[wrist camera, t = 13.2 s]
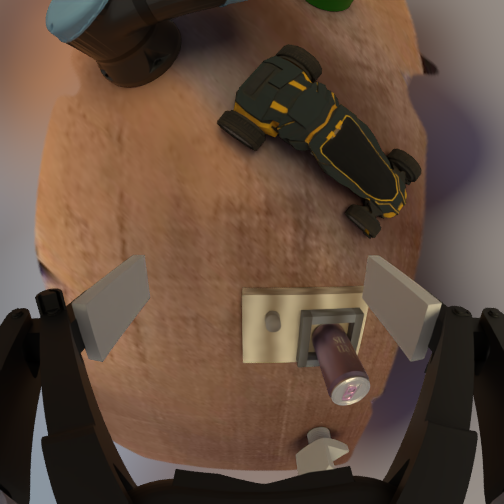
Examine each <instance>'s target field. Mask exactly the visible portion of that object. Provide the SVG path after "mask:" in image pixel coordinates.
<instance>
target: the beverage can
mask: <svg viewBox="0 0 504 504" xmlns="http://www.w3.org/2000/svg"><path fill="white" fill-rule="evenodd" d="M312 343H313V346H314V349H315V352H316V355H317V358H318V362H319V365H320V368H321V371H322V374H323V377H324V381H325V384H326V387H327V390H328V394H329V396H330V397H331V399H332V401H333V402H334V403H336V404H338V405H350V404H353V403H356V402H358V401H359V400H361V399H362V398H363V397H364V396H365V395H366V394H367V393H368V391H369V389H370V382H369V377H368V375H367V373H366V371H365V369H364V367H363V365H362V363H361V362H360V360H359V358H358V356H357V354H356V352H355V350H354V348H353V346H352V344H351V342H350V340H349V339H348V337H347V335H346V333H345V331H344V329H343V327H342V326H341V325H339V324H322V325H320V326H319V327H318V328H317V329H316V330H315V331H314V333H313V335H312Z"/></svg>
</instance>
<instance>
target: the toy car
mask: <svg viewBox="0 0 504 504" xmlns="http://www.w3.org/2000/svg"><path fill="white" fill-rule="evenodd" d="M321 74H322V68H321V66H320V64H319V62H318V61H317V60H316V58H315V57H314V56H313V55H311V54H310V53H309V52H307V51H306V50H305V49H303V48H300V47H298V46H294V45H289V44H288V45H286V46H284V47H283V48H282V49H281V50H280V51H279V52H278V53H277V54H276V56H274V57H272V58H269V59H267V60H265V61H263V62H262V64H261V65H260V66H259V67H258V68H257V69H256V70H255V71H254V72H253V73H252V74H251V75H250V77H249V78H248V79H247V80H246V81H245V82H244V83H243V84H242V86H241V87H239V90H238V91H237V92H236V99H235V106H234V110H231V111H225V112H224V114H223V115H222V116H221V117H220V119H219V120H218V121H217V124H218V125H219V126H220V127H221V128H222V129H223V130H225V131H226V132H227V133H229V134H230V135H231V136H233V137H234V138H236V139H237V140H239V141H240V142H241V143H243V144H244V145H246V146H247V147H249V148H250V149H252V150H254V151H257V150H258V148H259V147H260V146H261V145H262V143H263V142H264V141H265V137H264V136H265V134H268V135H271V136H273V137H276V136H277V134H278V136H279V137H280V138H282V139H283V140H284V141H285V142H287V143H288V144H289V145H292V146H293V147H294V148H295V149H296V150H302V151H305V150H311V154H312V155H314V157H315V158H316V160H317V162H318V164H319V166H320V167H321V168H322V170H323V171H324V172H325V173H326V174H327V175H329V176H330V177H332V178H333V179H335V180H336V181H338V182H339V183H340V184H342V185H344V186H346V187H348V188H350V190H351V191H352V192H353V193H355V194H357V195H358V196H360V197H362V198H366V200H365V202H364V203H365V207H364V206H359V205H354V204H353V205H351V206H350V208H349V209H348V210H347V212H346V214H345V215H346V216H347V217H348V218H349V219H350V220H351V221H352V222H353V223H355V224H356V225H357V226H358V227H359V228H360V229H361V230H362V231H364V234H365V235H366V236H367V237H368V238H370V239H371V237H372V238H375V237H376V235H377V234H378V233H379V231H380V230H381V226H380V223H379V222H378V220H377V219H376V216H379V217H381V218H383V219H384V217H388V218H391V217H393V216H396V215H398V213H399V211H400V209H401V208H402V207H403V206H404V205H405V204H406V196H407V195H406V190H405V188H406V185H405V184H408V185H409V184H410V183H411V182H415V181H416V180H417V179H418V177H419V176H420V174H421V168H420V166H419V164H418V163H417V161H416V160H415V159H414V158H413V157H412V156H410V155H409V154H407V153H406V152H404V151H402V150H399V149H393V150H392V151H391V153H390V154H389V155H388V157H386V156H385V154H384V153H383V152H382V150H381V148H380V146H379V144H378V142H377V140H376V138H375V136H374V135H373V133H372V132H371V130H370V129H369V128H368V126H367V125H366V124H364V123H363V122H362V121H361V120H359V119H358V118H357V116H356V115H355V114H353V113H352V112H351V111H349V110H348V109H347V108H345V107H344V106H343V105H339V102H338V99H337V98H336V96H335V94H334V93H332V92H331V91H329V90H327V88H326V86H325V85H324V84H322V83H319V82H318V83H317V82H315V81H316V80H317V79H318V77H319V76H320V75H321ZM314 82H315V83H314ZM407 180H408V181H407Z"/></svg>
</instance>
